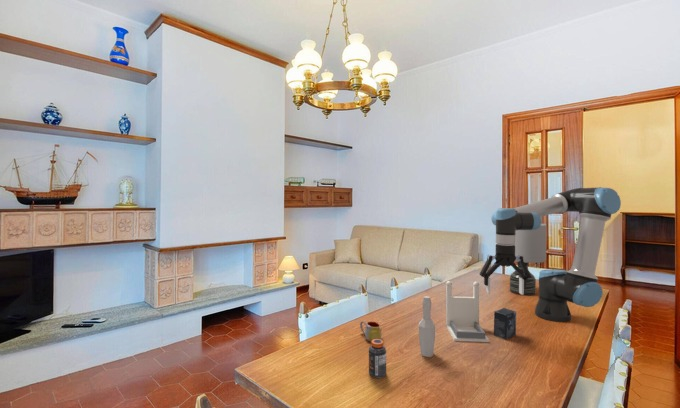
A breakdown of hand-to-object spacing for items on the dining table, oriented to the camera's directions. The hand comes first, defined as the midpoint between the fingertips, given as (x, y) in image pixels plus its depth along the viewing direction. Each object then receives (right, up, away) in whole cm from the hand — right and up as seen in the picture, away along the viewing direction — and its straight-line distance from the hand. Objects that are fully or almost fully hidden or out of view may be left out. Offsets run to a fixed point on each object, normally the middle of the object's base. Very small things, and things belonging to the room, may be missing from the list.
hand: (504, 293), depth 140 cm
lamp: (+42, -16, +61) cm, 76 cm away
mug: (-58, -19, 0) cm, 61 cm away
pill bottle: (-58, -20, -29) cm, 68 cm away
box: (0, -18, +1) cm, 18 cm away
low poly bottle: (-38, -19, -15) cm, 45 cm away
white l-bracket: (-15, -18, +2) cm, 24 cm away
